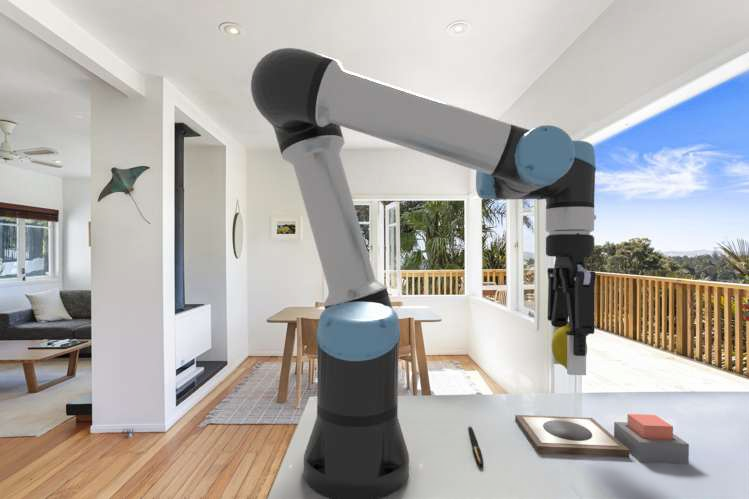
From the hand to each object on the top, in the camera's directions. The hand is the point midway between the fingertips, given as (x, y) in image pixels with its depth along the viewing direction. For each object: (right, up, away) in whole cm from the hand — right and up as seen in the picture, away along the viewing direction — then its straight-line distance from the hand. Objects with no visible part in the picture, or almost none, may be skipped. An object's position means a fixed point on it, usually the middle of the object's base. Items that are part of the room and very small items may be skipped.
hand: (568, 368), depth 69 cm
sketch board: (0, -12, 0) cm, 12 cm away
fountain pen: (-17, -12, -3) cm, 21 cm away
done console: (+11, -12, -4) cm, 17 cm away
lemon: (0, -1, 0) cm, 1 cm away
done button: (+11, -10, -4) cm, 15 cm away
